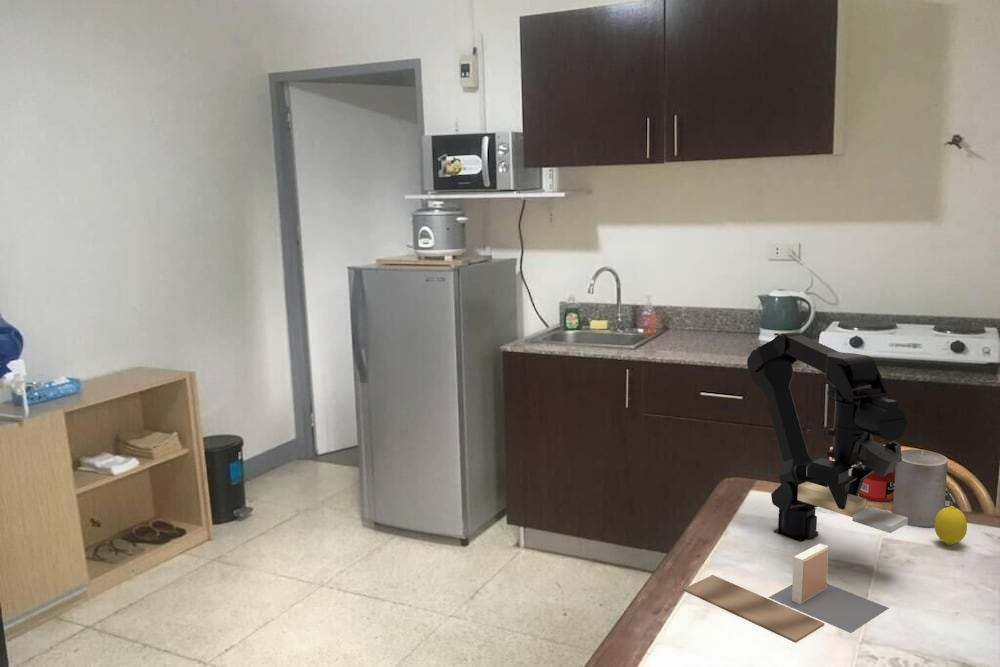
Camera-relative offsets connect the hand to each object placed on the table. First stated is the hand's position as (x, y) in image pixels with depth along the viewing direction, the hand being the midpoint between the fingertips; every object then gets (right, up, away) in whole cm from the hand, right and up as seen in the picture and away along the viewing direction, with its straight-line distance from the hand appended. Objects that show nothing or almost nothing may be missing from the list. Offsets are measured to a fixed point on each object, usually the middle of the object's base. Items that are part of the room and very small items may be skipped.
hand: (846, 506), depth 155 cm
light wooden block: (0, -1, 0) cm, 1 cm away
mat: (-8, -14, -13) cm, 21 cm away
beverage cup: (+8, -6, +28) cm, 30 cm away
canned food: (+21, -5, +35) cm, 41 cm away
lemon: (+24, -10, +9) cm, 27 cm away
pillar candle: (+24, -7, +22) cm, 33 cm away
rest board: (-22, -15, -13) cm, 29 cm away
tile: (-10, -13, -10) cm, 20 cm away
